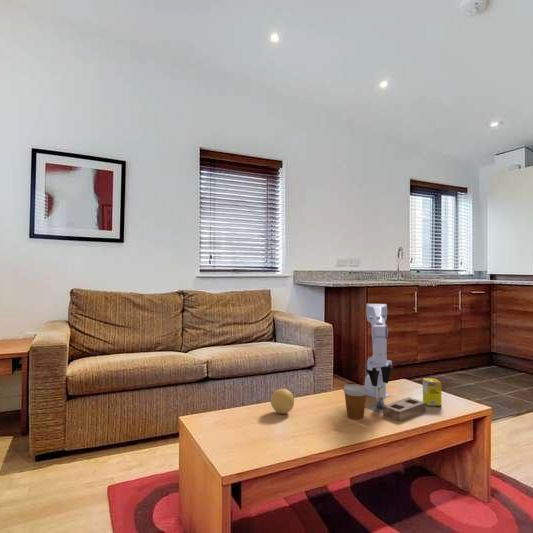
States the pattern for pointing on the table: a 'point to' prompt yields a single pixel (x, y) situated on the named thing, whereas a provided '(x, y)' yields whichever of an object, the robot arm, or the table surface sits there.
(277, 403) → the stress ball
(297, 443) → the table surface
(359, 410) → the disposable coffee cup
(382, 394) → the peg
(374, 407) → the mat
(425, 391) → the supplement box
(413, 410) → the socket block
